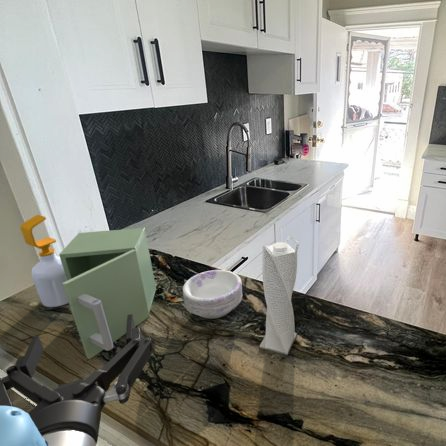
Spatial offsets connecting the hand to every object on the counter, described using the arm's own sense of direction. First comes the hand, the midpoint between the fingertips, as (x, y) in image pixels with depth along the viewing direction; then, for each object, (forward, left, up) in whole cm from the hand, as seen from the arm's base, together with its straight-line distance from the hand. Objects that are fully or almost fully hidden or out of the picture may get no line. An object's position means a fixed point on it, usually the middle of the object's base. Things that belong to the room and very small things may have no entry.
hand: (87, 330), depth 54 cm
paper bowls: (+20, +24, -17) cm, 36 cm away
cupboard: (-5, +31, -17) cm, 36 cm away
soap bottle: (-22, +38, -17) cm, 47 cm away
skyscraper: (+35, +7, -17) cm, 40 cm away
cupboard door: (0, +16, -17) cm, 23 cm away
